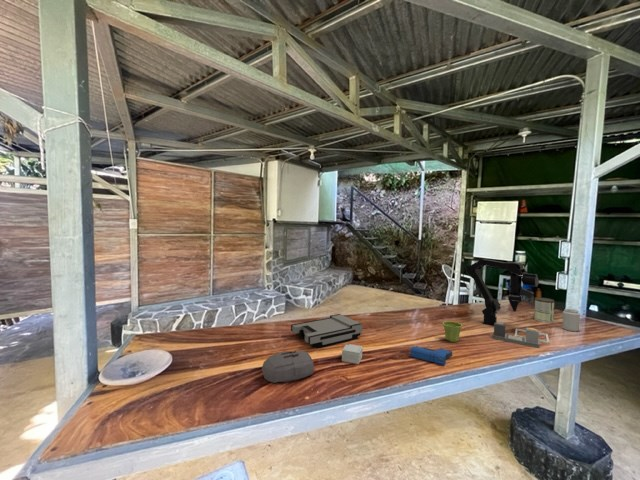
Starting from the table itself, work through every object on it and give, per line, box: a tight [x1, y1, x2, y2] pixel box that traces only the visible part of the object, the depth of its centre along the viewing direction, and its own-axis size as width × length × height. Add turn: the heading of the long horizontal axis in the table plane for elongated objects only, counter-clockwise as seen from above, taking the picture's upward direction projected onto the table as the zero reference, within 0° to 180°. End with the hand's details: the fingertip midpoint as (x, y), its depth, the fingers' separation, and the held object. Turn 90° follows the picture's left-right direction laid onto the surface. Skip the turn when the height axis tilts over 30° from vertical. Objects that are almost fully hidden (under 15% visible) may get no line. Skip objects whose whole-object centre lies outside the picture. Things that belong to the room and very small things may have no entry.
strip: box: [491, 332, 540, 349], centre depth 148 cm, size 20×9×1 cm, turn 53°
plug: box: [525, 327, 540, 344], centre depth 143 cm, size 5×5×6 cm
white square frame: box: [514, 328, 550, 345], centre depth 154 cm, size 15×15×1 cm
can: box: [561, 308, 581, 333], centre depth 165 cm, size 8×8×12 cm
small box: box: [341, 343, 363, 365], centre depth 123 cm, size 8×8×5 cm
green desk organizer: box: [533, 297, 556, 323], centre depth 184 cm, size 10×10×14 cm
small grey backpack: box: [261, 350, 315, 384], centre depth 109 cm, size 15×8×20 cm
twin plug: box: [493, 321, 507, 337], centre depth 152 cm, size 5×5×6 cm
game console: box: [290, 313, 363, 349], centre depth 148 cm, size 21×32×8 cm, turn 122°
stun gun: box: [409, 345, 453, 366], centre depth 127 cm, size 4×16×15 cm
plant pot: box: [442, 320, 463, 343], centre depth 147 cm, size 9×9×9 cm
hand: (514, 309), depth 164 cm, fingers open, 9 cm apart
